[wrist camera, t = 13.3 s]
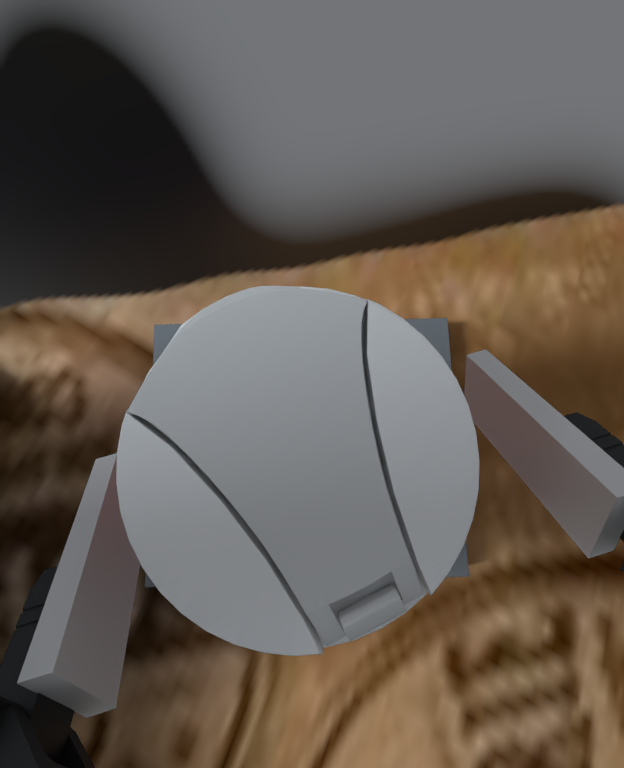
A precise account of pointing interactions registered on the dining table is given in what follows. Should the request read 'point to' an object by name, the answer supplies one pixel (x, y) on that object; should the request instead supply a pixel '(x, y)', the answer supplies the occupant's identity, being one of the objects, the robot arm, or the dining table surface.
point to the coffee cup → (297, 469)
